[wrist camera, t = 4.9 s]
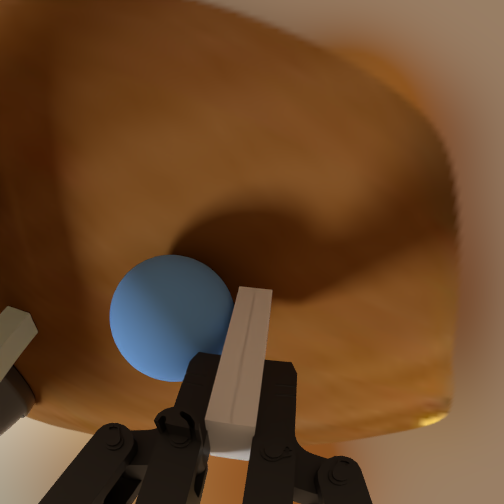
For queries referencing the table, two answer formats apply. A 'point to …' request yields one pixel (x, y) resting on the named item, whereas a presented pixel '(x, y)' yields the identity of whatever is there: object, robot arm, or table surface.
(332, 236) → the table surface
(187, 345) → the ball
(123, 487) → the robot arm
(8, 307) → the bridge
